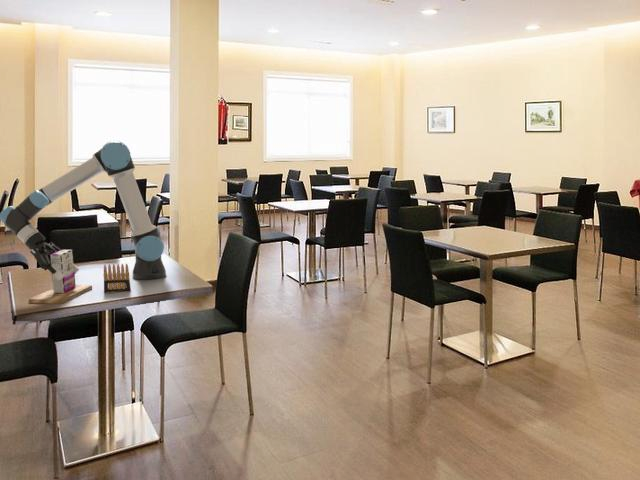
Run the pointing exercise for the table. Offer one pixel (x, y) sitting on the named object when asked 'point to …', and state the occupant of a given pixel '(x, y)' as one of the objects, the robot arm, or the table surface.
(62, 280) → the candy bar box
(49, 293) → the oak board
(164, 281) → the table surface
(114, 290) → the ammunition clip
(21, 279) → the table surface
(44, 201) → the robot arm
